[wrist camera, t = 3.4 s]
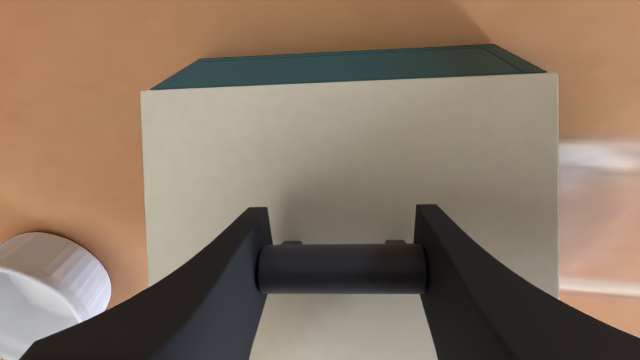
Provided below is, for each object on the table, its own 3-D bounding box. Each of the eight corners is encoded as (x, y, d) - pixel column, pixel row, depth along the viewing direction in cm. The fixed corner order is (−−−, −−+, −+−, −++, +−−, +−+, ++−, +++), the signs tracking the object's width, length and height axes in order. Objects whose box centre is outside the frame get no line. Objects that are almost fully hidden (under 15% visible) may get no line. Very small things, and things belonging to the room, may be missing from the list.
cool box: (466, 231, 24) (497, 300, 19) (234, 234, 25) (207, 299, 20) (494, 43, 18) (548, 71, 13) (198, 58, 20) (148, 89, 15)
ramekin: (-33, 240, 27) (-96, 285, 23) (70, 209, 25) (20, 252, 21) (49, 325, 30) (7, 376, 27) (144, 304, 29) (113, 355, 25)
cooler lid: (550, 403, 14) (627, 496, 10) (161, 393, 15) (94, 473, 11) (548, 76, 13) (629, 40, 10) (148, 93, 15) (75, 67, 11)
